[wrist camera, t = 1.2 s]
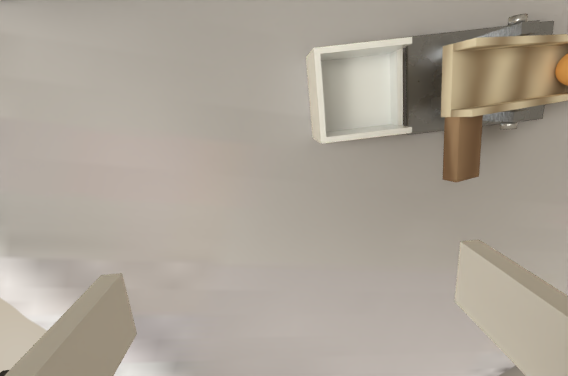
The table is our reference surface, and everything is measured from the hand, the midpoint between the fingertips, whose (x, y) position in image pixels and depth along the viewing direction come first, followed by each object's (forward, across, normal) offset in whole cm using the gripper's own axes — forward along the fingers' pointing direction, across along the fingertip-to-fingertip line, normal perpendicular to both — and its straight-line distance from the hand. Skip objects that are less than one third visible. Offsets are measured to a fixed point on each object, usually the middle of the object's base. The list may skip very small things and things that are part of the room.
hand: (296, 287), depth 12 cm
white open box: (+27, +10, +7) cm, 29 cm away
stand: (+27, +24, +8) cm, 37 cm away
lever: (+20, +24, +5) cm, 31 cm away
